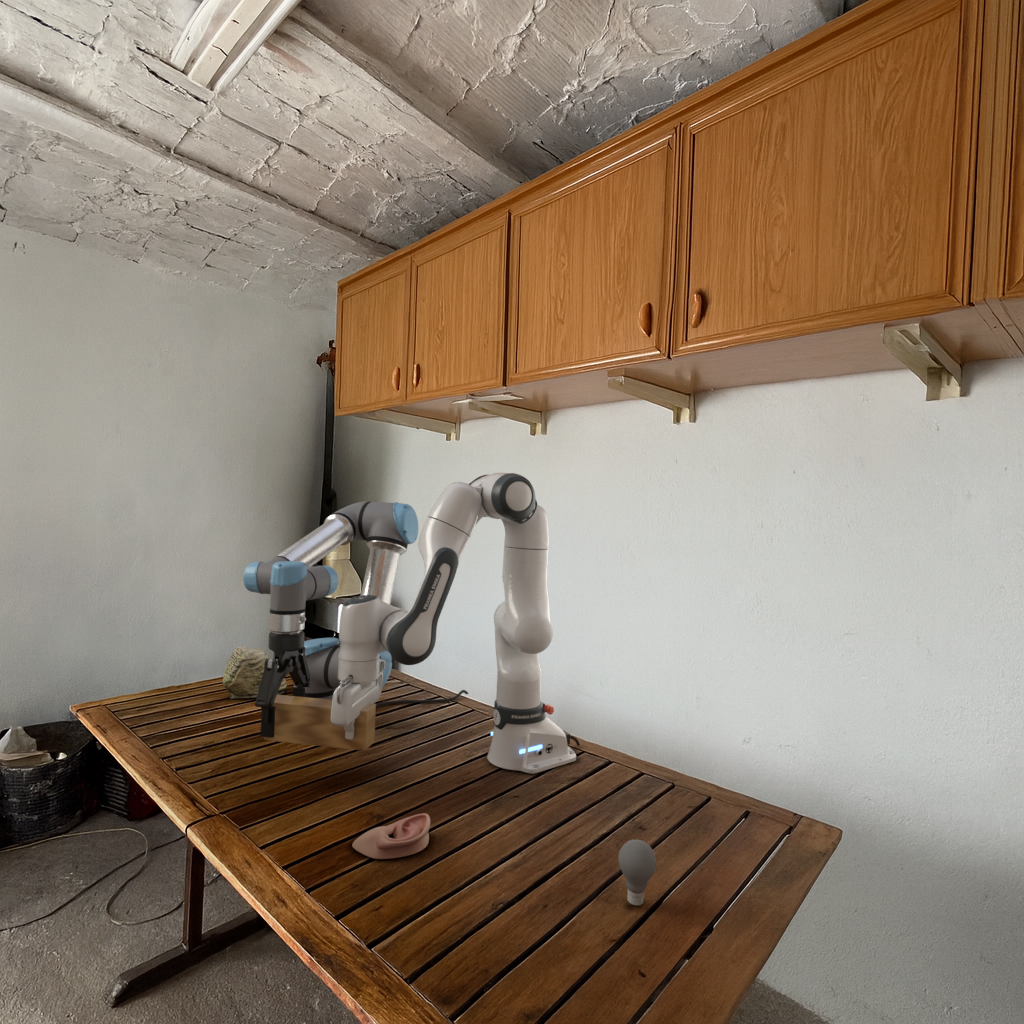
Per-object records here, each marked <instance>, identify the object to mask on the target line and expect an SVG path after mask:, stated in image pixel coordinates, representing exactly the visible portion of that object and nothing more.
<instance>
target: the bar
mask: <svg viewBox="0 0 1024 1024" xmlns="http://www.w3.org/2000/svg"><path fill="white" fill-rule="evenodd" d="M376 704H377V703H374V704H372V703H369V704H368V705H367V706H366V707H365V708H363V709H362V710H361V711H360V716H359V717H357V718H356V719H355V723H354V729H356V733H355V737H354V738H353V739H346V738H345V729H344V727H343V726H334V725H332V723H331V708H332V700H329V699H319V698H308V697H298V696H293V695H285V694H277V696H276V699H275V701H274V704H273V706H275V728H274V737H273V738H269V737H263V741H268V742H269V741H270V742H278V743H279V742H280V743H289V744H298V745H306V746H316V747H324V748H325V747H327V748H334V749H335V748H336V749H344V750H352V751H353V750H355V751H364V752H366V751H367V750H368V749H369V748H370V747H371V746H372V745H373V744H374V743H375V740H376V739H375V738H376V736H375V735H376V715H377V714H376V709H377V706H376Z"/></svg>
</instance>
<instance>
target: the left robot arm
mask: <svg viewBox="0 0 1024 1024" xmlns="http://www.w3.org/2000/svg"><path fill="white" fill-rule="evenodd" d="M418 536H419V520H418V516H417V512H416V510H415V509H414V507H412V505H410V504H408V503H401V502H387V501H386V502H383V501H368V500H367V501H366V500H365V501H359V502H354V503H352V504H349V505H347V506H345V507H343V508H340V509H338V510H336V511H335V512H332V514H329V516H327V517H326V518H325V519H324V521H323V524H322V525H320V526H318V527H317V528H315V529H314V530H312V531H311V532H310V533H308V534H306V535H305V536H303V537H302V538H300V539H299V540H298V541H296V542H295V543H292V545H290V546H289V547H287V548H286V549H284V550H283V551H281V552H280V553H278V554H277V555H275V556H273V558H271V559H269V560H267V561H265V562H264V561H253V562H250V563H249V564H248V565H247V566H246V568H245V569H244V570H243V576H242V581H243V586H244V588H245V589H246V590H247V591H248V592H250V593H257V594H261V595H269V597H270V600H269V601H270V602H269V604H270V605H269V607H270V608H269V617H268V618H269V620H268V630H269V631H270V632H268V643H267V644H268V646H267V647H268V649H269V650H271V651H272V652H273V657H272V658H271V659H266V660H265V665H264V672H263V676H262V679H261V683H260V687H259V691H258V694H257V697H255V698H256V699H255V703H254V706H255V707H257V708H261V711H260V713H261V715H260V737H262V738H264V737H269V738H273V737H274V728H275V706H273V704H274V701H275V699H276V696H277V695H278V694H277V693H278V691H279V688H280V685H281V683H282V680H283V679H284V678H285V679H286V678H287V675H289V677H290V679H291V680H292V683H293V687H292V696H298V697H308V698H319V699H329V700H332V699H333V694H334V691H335V689H336V688H337V687H339V686H340V682H341V681H340V680H339V679H338V655H339V652H340V647H341V645H340V640H339V638H337V637H321V638H319V637H318V638H313V639H307V640H305V632H304V631H303V630H305V622H306V621H307V618H306V603H307V602H306V601H311V600H316V599H320V598H321V599H323V598H326V597H328V596H331V595H332V594H334V593H335V592H336V591H337V589H338V586H339V575H338V572H337V571H336V570H335V569H334V568H333V567H332V566H329V565H321V564H320V565H319V564H318V565H316V564H317V563H318V562H320V561H322V560H323V559H324V558H325V557H326V556H328V555H329V554H331V553H332V552H333V551H335V550H336V549H337V548H339V547H340V546H346V545H348V544H350V543H351V542H355V541H366V546H367V547H368V549H369V550H370V551H369V555H368V560H367V564H366V569H365V573H364V578H363V582H362V586H361V587H362V588H361V591H360V596H362V595H374V596H377V597H378V598H379V599H380V600H382V601H384V602H385V603H387V604H389V605H391V602H392V598H393V593H394V588H395V583H396V577H397V574H398V569H399V564H400V558H401V556H403V554H405V553H406V552H407V551H408V546H409V545H413V544H414V543H415V542H416V540H417V539H418ZM314 565H316V566H314ZM379 659H380V660H384V661H385V669H384V670H383V683H382V688H383V687H384V686H385V685H386V683H387V682H388V680H389V678H390V675H391V673H392V672H391V671H392V668H393V662H392V661H393V657H392V655H391V654H390V653H389V651H382V652H381V653H380V658H379ZM462 694H465V695H469V692H468V691H467V690H465V689H462V690H460V691H459V692H458V693H457V694H456V695H454V696H452V697H447V698H438V699H400V700H399V699H397V700H389V701H382V702H378V703H375V704H376V707H381V706H385V705H393V704H394V705H396V704H428V703H444V702H450V701H455V700H457V699H458V698H459V697H460V696H461V695H462Z"/></svg>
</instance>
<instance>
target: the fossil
mask: <svg viewBox="0 0 1024 1024" xmlns="http://www.w3.org/2000/svg"><path fill="white" fill-rule="evenodd" d="M266 659H272V658H271V657H270V656H269V655H268V654H267V653H266V652H265V650H264V649H263V648H260V647H258V648H251V647H247V646H246V647H245V646H238V647H237V648H236V649H235V650H233V651H232V653H231V656H230V657H229V659H228V660H227V663H226V666H225V668H224V671H223V675H222V676H223V677H222V685H223V687H224V688H225V690H226V691H228V693H229V698H230V699H250V698H257V694H258V691H259V687H260V683H261V679H262V676H263V672H264V665H265V660H266ZM287 687H288V686H287V680H286V677H285V678H284V679H283V680H282V683H281V685H280V688H279V691H278V693H277V695H281V694H284V693H285V691H286V689H287Z"/></svg>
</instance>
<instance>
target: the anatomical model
mask: <svg viewBox="0 0 1024 1024" xmlns="http://www.w3.org/2000/svg"><path fill="white" fill-rule="evenodd" d="M430 827H431V817H430V815H429V814H428V813H425V812H423V813H422V812H421V813H417V814H414V815H410V816H407V817H404V818H402V819H399V820H397V821H395V822H393V823H391V824H387V825H382V826H377V827H374V828H372V829H369V830H367V831H366V832H364V833H362V834H361V835H359V836H358V837H357V838H355V840H354V841H353V842H352V844H351V845H352V848H353V849H354V850H355V851H356V852H358V853H360V854H362V855H364V856H366V857H368V858H371V859H374V860H387V859H397V858H402V857H407V856H412V855H414V854H417V853H419V852H422V851H423V850H424V849H425V848H426V847H428V845H429V841H430V835H429V830H430Z"/></svg>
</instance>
